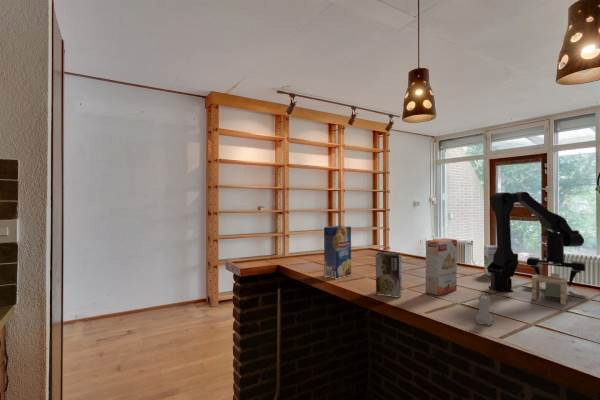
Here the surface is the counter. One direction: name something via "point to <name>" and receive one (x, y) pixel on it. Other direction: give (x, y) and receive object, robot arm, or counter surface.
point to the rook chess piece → (484, 310)
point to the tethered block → (553, 288)
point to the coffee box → (388, 273)
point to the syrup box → (488, 257)
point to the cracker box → (441, 266)
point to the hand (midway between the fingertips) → (555, 284)
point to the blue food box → (337, 251)
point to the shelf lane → (558, 280)
